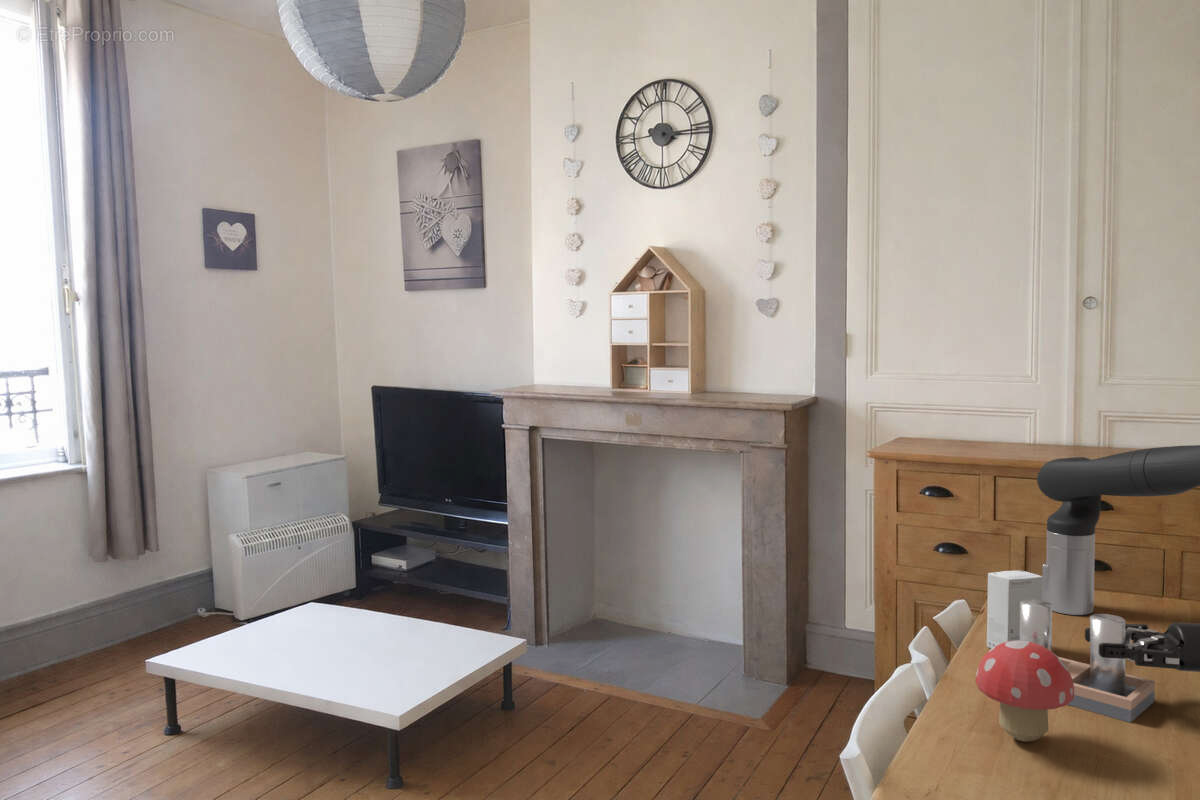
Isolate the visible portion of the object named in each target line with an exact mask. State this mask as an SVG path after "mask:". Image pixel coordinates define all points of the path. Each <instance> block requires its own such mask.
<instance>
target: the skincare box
mask: <svg viewBox="0 0 1200 800" xmlns="http://www.w3.org/2000/svg"><path fill="white" fill-rule="evenodd" d="M1042 589H1043V577H1042V575H1039V574H1037V573H1032V572H1029V571H1025V570H1022V569H1021V570H1002V571H996V572H995V571H994V572H988V573H987V611H986V612H987V616H986V617H987V618H986V620H987V622H986V646H987V648H989V649H990V650H991V649H992V648H994V647H996V646H997V645H999V644H1002V643H1005V642H1009V641H1018V640H1019V641H1020V601H1022V600H1027V599H1033V600H1041V601H1042Z"/></svg>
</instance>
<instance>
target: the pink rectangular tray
mask: <svg viewBox="0 0 1200 800" xmlns="http://www.w3.org/2000/svg"><path fill="white" fill-rule="evenodd" d="M1057 657H1058V658H1059V659H1060V660H1061V661H1062V662H1063V664H1064V665H1065V666H1066V668H1067V669H1068V671H1069V673H1070V675H1071V677H1072V680H1073V684H1074V699H1073V700H1072V701H1071V702H1070V703H1068V704H1067V705H1068V706H1072V707H1075V708H1078V709H1082V710H1086V711H1089V712H1092V713H1095V714H1099V715H1103V716H1107V717H1110V718H1113V719H1117V720H1120V721H1123V722H1128V723H1130V724H1131V723H1132V722H1133V721H1134V720H1136V719H1137V718H1138V717H1139V716H1140V715H1141V714H1142V713H1144V712H1145V711H1146V710H1147V708H1149V707H1150V706H1152V704H1153V703H1154V702H1155V694H1156V693H1155V691H1156V690H1155V684H1156V681H1155V680H1152V679H1148V678H1144V677H1140V676H1136V675H1131V674H1128V673H1125V694H1124V695H1121V696H1120V695H1116V694H1113V693H1109V692H1105V691H1101V690H1098V689H1094V688H1090V663H1086V662H1085V663H1084V662H1081V661H1076V660H1073V659H1068V658H1064V657H1061V656H1060V657H1059V656H1057ZM1067 705H1066V706H1067Z"/></svg>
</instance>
